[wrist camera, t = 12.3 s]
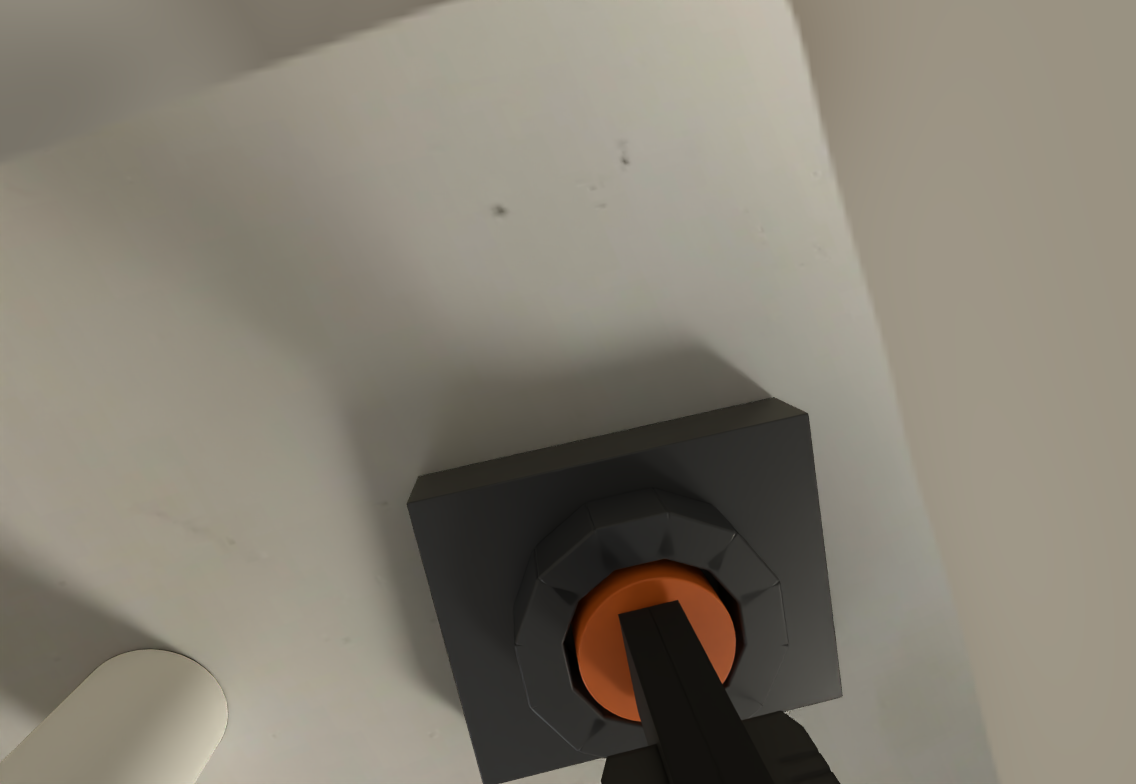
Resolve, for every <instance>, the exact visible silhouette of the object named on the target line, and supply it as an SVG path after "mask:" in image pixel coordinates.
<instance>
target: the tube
mask: <svg viewBox="0 0 1136 784" xmlns="http://www.w3.org/2000/svg"><path fill="white" fill-rule="evenodd" d="M227 719H228V709H227V702H226V698H225V696H224V693H223V691H222V688H221V687H220V685H219V684H218V682H217V681H216V679H215V678H214V677H213V676H212V675H211V674H210V673H209V672H208V671H207V670H206V669H205V668H204V667H202V666H201V665H199V664H198V663H197V662H195V661H193V660H191V659H189V658H187V657H185V656H183V655H180V654H176V653H173V652H169V651H163V650H154V649H148V650H135V651H131V652H127V653H123V654H120V655H118V656H116V657H113V658H111V659H109V660H107V661H106V662H104V663H103V664H102V665H100V666H99V667H98V668H96V669H95V670H94V671H93V672H92V673H91V674H90V675H89V676H88V677H87V678H86V679H85V680H84V681H83V682H82V683H81V684H80V685H79V686H78V687H77V688H76V689H75V690H74V691H73V692H72V693H71V694H70V695H69V696H68V697H67V698H66V699H65V700H64V701H63V702H62V703H61V704H60V705H59V706H58V707H57V708H56V709H55V710H54V711H53V712H52V713H51V714H50V715H48V716H47V717H46V718H45V719H44V720H43V721H42V722H41V723H40V724H39V725H38V726H37V727H36V728H35V729H34V730H33V731H32V732H31V733H30V734H29V735H28V736H27V737H26V738H25V739H24V740H23V741H22V742H21V743H20V744H19V745H18V746H17V747H16V748H15V749H14V750H13V751H12V752H11V753H10V754H9V755H8V756H7V757H6V758H5V759H4V760H3V761H2V762H0V784H195V782H196V780H197V779H198V777H199V775H200V774H201V772H202V770H203V769H204V767H205V765H206V764H207V762H208V761H209V759H210V757H211V756H212V754H213V752H214V751H215V749H216V747H217V746H218V744H219V742H220V741H221V739H222V737H223V735H224V732H225V729H226V726H227Z"/></svg>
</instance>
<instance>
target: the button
mask: <svg viewBox="0 0 1136 784" xmlns="http://www.w3.org/2000/svg"><path fill="white" fill-rule="evenodd" d="M675 600H678V601H679V603H680V604H681V606H682V608H683V610H684V612H685V614H686V616H687V618H688V620H689V622H690V623H691V625H692V627H693V629H694V631H695V633H696V635H697V637H698V639H699V641H700V643H701V644H702V646H703V648H704V650H705V652H706V654H707V656H708V658H709V660H710V662H711V663H712V665H713V667H714V669H715V671H716V673H717V675H718V677H719V679H720V681H721V682H722V684H723V683H724V681H725V680H726V678H727V676H728V674H729V672H730V670H731V667H732V664H733V661H734V656H735V648H736V637H735V630H734V625H733V622H732V619H731V617H730V614H729V613H728V611H727V609H726V608H725V606H724V604H723V603H722V601H721V600H720V598H719V597H718V595H717V594H716V592H715V591H714V589H713V587H712V586H711V584H710V583H709V581H708V580H707V578H706V577H705V575H704V574H703V573H702V571H701V570H700V569H699V568H697V567H694V566H690V565H686V564H683V563H679V562H676V561H672V560H668V559H661V560H657V561H652V562H648V563H644V564H640V565H636V566H631V567H627V568H623V569H619V570H615V571H613V572H612V573H611V574H610V575H609V576H608V577H606V578H605V579H604V580H603V581H602V582H601V583H599V584H598V585H597V586H596V587H595V588H594V589H593V590H591V591H590V592H589V593H588V594H587V595H586V596H584V597H583V598H582V599H581V600H580V601H579V602H578V605H577V608H576V610H575V613H574V616H573V619H572V621H571V626H572V632H573V638H574V643H575V649H576V654H577V660H578V665H579V670H580V674H581V677H582V680H583V682H584V684H585V686H586V688H587V689H588V691H589V692H590V694H591V695H592V696H593V698H594V699H595V700H596V701H597V702H598V703H599V704H601V705H602V706H603V707H604V708H605V709H607V710H609V711H610V712H612V713H613V714H616V715H618V716H620V717H622V718H626V719H629V720H633V721H639V722H641V720H640V717H639V713H638V710H637V705H636V700H635V695H634V690H633V685H632V680H631V675H630V670H629V666H628V661H627V656H626V651H625V646H624V641H623V636H622V631H621V626H620V621H619V616H618V614H621V613H625V612H630V611H634V610H638V609H642V608H646V607H650V606H654V605H659V604H663V603H667V602H671V601H675Z"/></svg>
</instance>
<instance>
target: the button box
mask: <svg viewBox="0 0 1136 784" xmlns="http://www.w3.org/2000/svg"><path fill="white" fill-rule="evenodd" d="M407 507H408V511H409V515H410V518H411V522H412V526H413V529H414V533H415V537H416V540H417V544H418V548H419V551H420V555H421V558H422V562H423V566H424V569H425V573H426V577H427V580H428V584H429V588H430V591H431V595H432V599H433V602H434V606H435V610H436V613H437V617H438V621H439V624H440V628H441V632H442V635H443V639H444V643H445V646H446V650H447V654H448V657H449V661H450V665H451V668H452V672H453V676H454V679H455V683H456V687H457V690H458V694H459V698H460V701H461V705H462V709H463V712H464V716H465V720H466V723H467V727H468V731H469V734H470V738H471V742H472V745H473V749H474V753H475V756H476V760H477V764H478V767H479V771H480V775H481V778H482V782H483V784H500V783H504V782H508V781H512V780H516V779H520V778H524V777H528V776H532V775H536V774H540V773H544V772H548V771H552V770H555V769H559V768H563V767H567V766H571V765H575V764H579V763H583V762H587V761H591V760H595V759H599V758H607V756H610V755H614V754H618V753H622V752H626V751H630V750H634V749H638V748H642V747H646V746H648V743H647V740H646V736H645V733H644V730H643V726H642V723H641V722H639V721H633V720H629V719H626V718H622V717H620V716H618V715H616V714H613V713H612V712H610V711H609V710H607V709H605V708H604V707H603V706H602V705H601V704H599V703H598V702H597V701H596V700H595V699H594V698H593V696H592V695H591V694H590V692H589V691H588V689H587V688H586V686H585V684H584V682H583V680H582V677H581V674H580V670H579V665H578V660H577V654H576V649H575V643H574V638H573V632H572V626H571V621H572V619H573V616H574V613H575V610H576V608H577V605H578V602H579V601H580V600H581V599H582V598H583V597H584V596H586V595H587V594H588V593H589V592H590V591H591V590H593V589H594V588H595V587H596V586H597V585H598V584H599V583H601V582H602V581H603V580H604V579H605V578H606V577H608V576H609V575H610V574H611V573H612V572H613V571H615V570H619V569H623V568H627V567H631V566H636V565H640V564H644V563H648V562H652V561H657V560H661V559H668V560H672V561H676V562H679V563H683V564H686V565H690V566H694V567H697V568H699V569H700V570H701V571H702V573H703V574H704V575H705V577H706V578H707V580H708V581H709V583H710V584H711V586H712V587H713V589H714V591H715V592H716V594H717V595H718V597H719V598H720V600H721V601H722V603H723V604H724V606H725V608H726V609H727V611H728V613H729V614H730V617H731V619H732V622H733V625H734V630H735V637H736V648H735V656H734V661H733V664H732V667H731V670H730V672H729V674H728V676H727V678H726V680H725V681H724V683H723V686H724V688H725V690H726V692H727V694H728V696H729V698H730V700H731V702H732V703H733V705H734V707H735V709H736V711H737V713H738V715H739V717H740V719H741V720H745V719H748V718H752V717H756V716H760V715H764V714H768V713H772V712H776V711H780V710H781V711H782V712H785V711H789V710H793V709H797V708H801V707H805V706H809V705H813V704H817V703H820V702H824V701H828V700H832V699H836V698H840V697H842V696H843V695H842V687H841V679H840V670H839V662H838V654H837V646H836V637H835V629H834V621H833V613H832V605H831V596H830V588H829V580H828V572H827V563H826V555H825V547H824V539H823V531H822V522H821V514H820V506H819V498H818V489H817V481H816V473H815V465H814V457H813V448H812V440H811V432H810V424H809V415H808V413H806V412H804V411H802V410H800V409H798V408H796V407H794V406H792V405H789V404H787V403H785V402H783V401H781V400H779V399H777V398H775V397H773V398H768V399H764V400H759V401H755V402H750V403H746V404H741V405H737V406H732V407H728V408H723V409H719V410H714V411H710V412H705V413H701V414H696V415H692V416H687V417H683V418H679V419H674V420H670V421H665V422H661V423H656V424H652V425H647V426H643V427H638V428H634V429H629V430H625V431H620V432H616V433H611V434H607V435H602V436H598V437H593V438H589V439H584V440H580V441H575V442H571V443H566V444H562V445H557V446H553V447H548V448H544V449H539V450H535V451H530V452H526V453H521V454H517V455H512V456H508V457H503V458H499V459H494V460H490V461H485V462H481V463H476V464H472V465H468V466H463V467H459V468H454V469H450V470H445V471H441V472H436V473H432V474H427V475H423V476H419V477H418V478H417V481H416V483H415V486H414V488H413V490H412V493H411V495H410V497H409V500H408V502H407Z"/></svg>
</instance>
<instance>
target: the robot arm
mask: <svg viewBox="0 0 1136 784" xmlns="http://www.w3.org/2000/svg"><path fill="white" fill-rule="evenodd" d="M618 616H619V621H620V626H621V631H622V636H623V641H624V646H625V651H626V656H627V661H628V666H629V670H630V675H631V680H632V685H633V690H634V695H635V700H636V705H637V710H638V713H639V717H640V720H641V723H642V726H643V730H644V733H645V736H646V740H647V743H648V746H646V747H642V748H638V749H634V750H630V751H626V752H622V753H618V754H614V755H610V756H607V759H606V763H605V767H604V771H603V775H602V778H601V784H840V782H839V781H838V779H837V778H836V776H835V775H834V773H833V772H831V770H830V767H829V765H828V764H827V762H826V761H825V759H824V758H823V756H822V755H821V753H819V752H818V749H817V747H816V746H815V744H814V743H813V741H812V739H811V738H810V736H809V735H808V733H807V732H806V730H805V729H804V727H803V726H802V725H800V724H799V723H797V722H796V721H795V720H793V719H792V718H791V717H789V716H788V715H786V714H785V713H784V712H782V711H781V710H780V711H776V712H772V713H768V714H764V715H760V716H756V717H752V718H748V719H745V720H741V719H740V717H739V715H738V713H737V711H736V709H735V707H734V705H733V703H732V702H731V700H730V698H729V696H728V694H727V692H726V690H725V688H724V686H723V684H722V682H721V681H720V679H719V677H718V675H717V673H716V671H715V669H714V667H713V665H712V663H711V662H710V660H709V658H708V656H707V654H706V652H705V650H704V648H703V646H702V644H701V643H700V641H699V639H698V637H697V635H696V633H695V631H694V629H693V627H692V625H691V623H690V622H689V620H688V618H687V616H686V614H685V612H684V610H683V608H682V606H681V604H680V603H679V601H678V600H675V601H671V602H667V603H663V604H659V605H654V606H650V607H646V608H642V609H638V610H634V611H630V612H625V613H621V614H618Z"/></svg>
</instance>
